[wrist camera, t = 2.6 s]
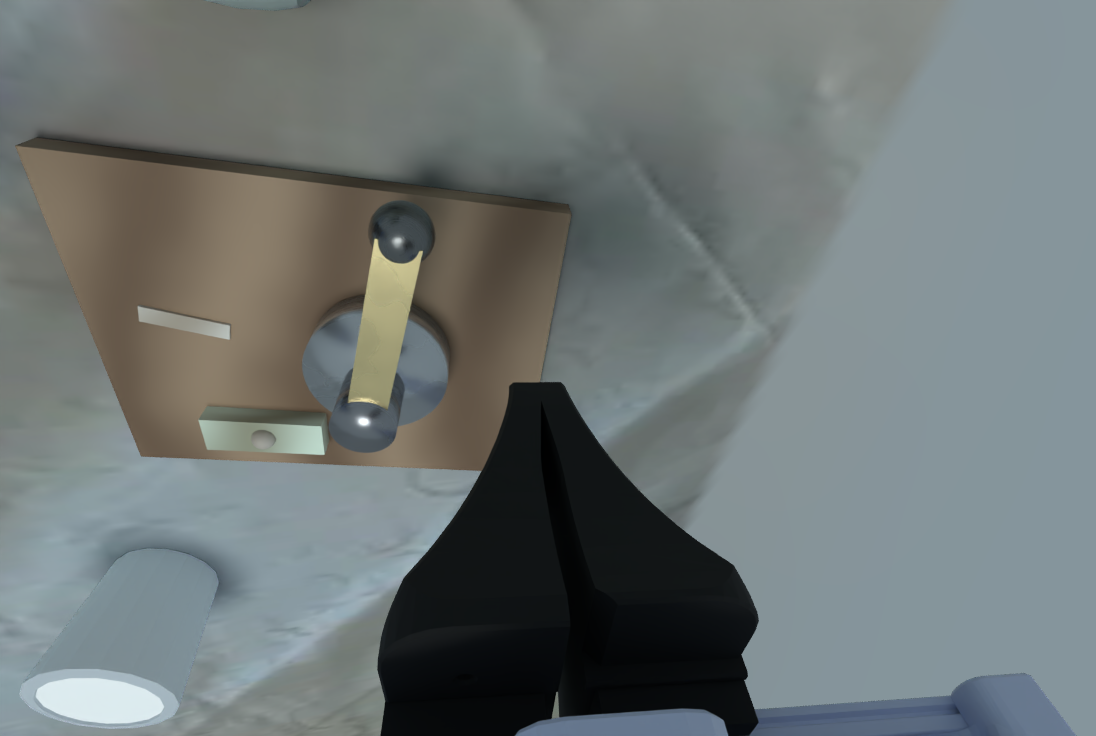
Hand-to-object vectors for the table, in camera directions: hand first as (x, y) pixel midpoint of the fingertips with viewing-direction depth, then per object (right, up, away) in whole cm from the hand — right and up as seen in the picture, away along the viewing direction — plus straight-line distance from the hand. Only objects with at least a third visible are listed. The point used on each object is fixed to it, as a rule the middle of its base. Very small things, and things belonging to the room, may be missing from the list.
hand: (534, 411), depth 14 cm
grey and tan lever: (-6, +4, +7) cm, 10 cm away
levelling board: (-9, +3, +9) cm, 13 cm away
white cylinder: (-23, -11, +19) cm, 31 cm away
